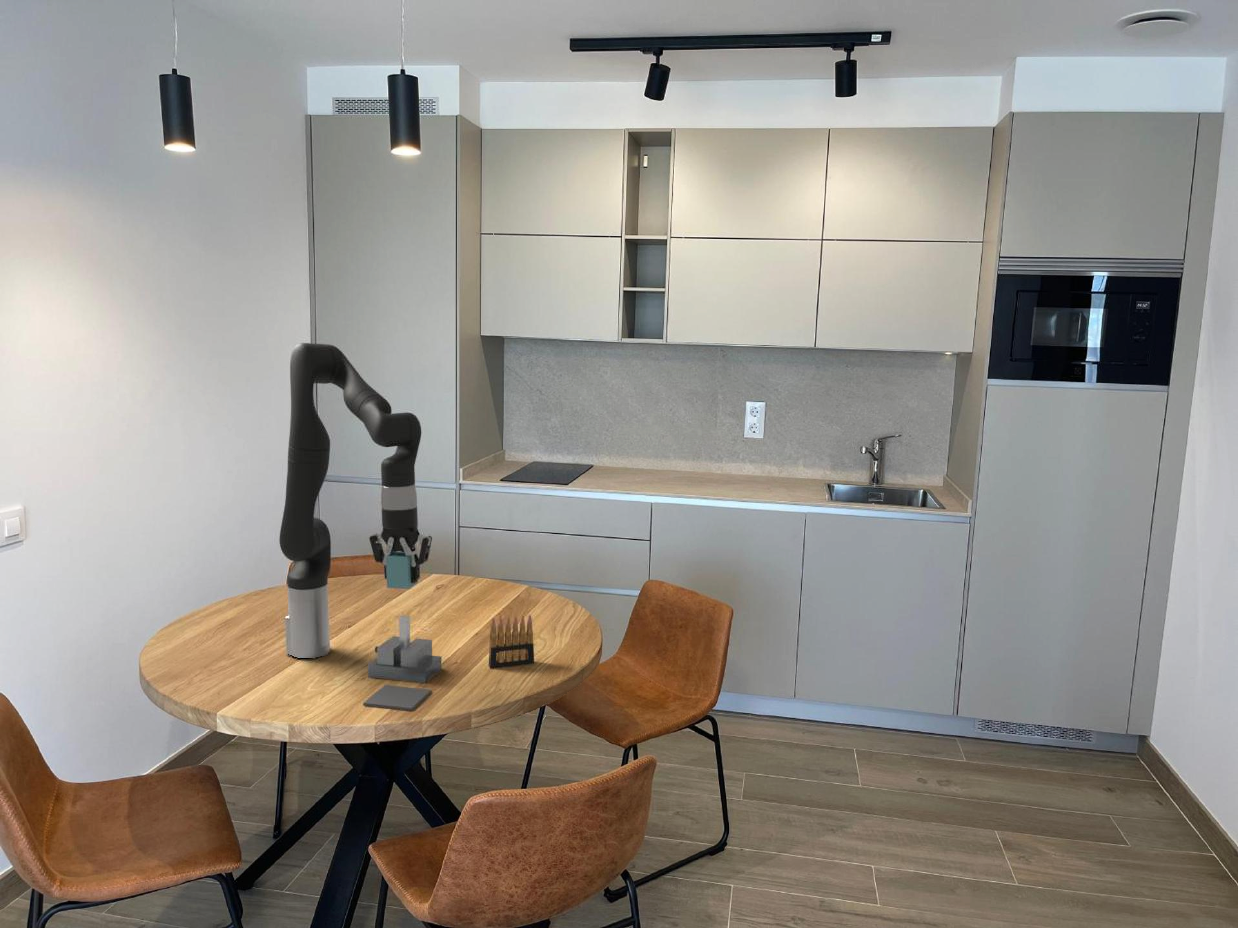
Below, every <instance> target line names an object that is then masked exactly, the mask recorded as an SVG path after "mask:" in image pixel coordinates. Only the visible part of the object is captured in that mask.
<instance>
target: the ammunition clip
mask: <svg viewBox="0 0 1238 928" xmlns="http://www.w3.org/2000/svg"><path fill="white" fill-rule="evenodd" d="M518 624H519V625H518ZM496 627H497V629H496ZM489 631H490V633H489V649H488V650H489V651H488V667H489V669H501V668H508V667H510V668H511V667H516V666H517V667H518V666H525V665H534V664H535V653H534V652H535V650H534V630H533V619H532V616H531V614H528V616H527V623H526V620H525V618H524V615H523V614H522V615H521V616H520V620H519V623H518V617H517V616H516V615H514V617H513V620H512V625H511V620H510V617H509V616H507V618H506V621H505V630H504V622H503V619H502V617H499V620H498V623H497V626H496V621H495V618H494V617H493V618H491V623H490V630H489ZM504 631H505V632H504Z"/></svg>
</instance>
